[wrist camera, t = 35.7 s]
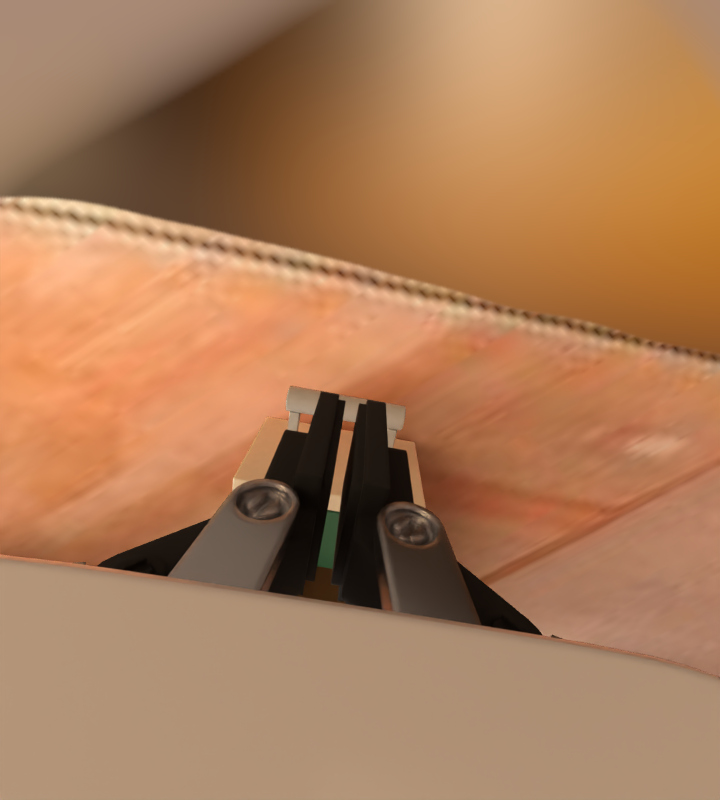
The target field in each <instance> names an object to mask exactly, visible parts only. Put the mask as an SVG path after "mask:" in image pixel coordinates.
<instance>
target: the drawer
mask: <svg viewBox="0 0 720 800" xmlns="http://www.w3.org/2000/svg"><path fill="white" fill-rule="evenodd" d="M322 392H323V391H322ZM320 393H321V391H317V390H312V389H306V388H301V387H295V386H290V388H289V390H288V394H287V399H286V410H287V411H290V413H289V420H285V419H279V418H274V417H266V419H265V421H264V423H263V425H262V427H261V428H260V430H259V432H258V434H257V436H256V438H255V439H254V441H253V443H252V445H251V447H250V449H249V450H248V452H247V454H246V456H245V458H244V460H243V461H242V463H241V465H240V467H239V469H238V471H237V472H236V474H235V476H234V478H233V490H234V489H235V488H236V487H237V486H239V485H241V484H243V483H245V482H247V481H251V480H255V479H264V477H265V475H266V473H267V470H268V468H269V466H270V463H271V461H272V459H273V456H274V454H275V452H276V449H277V447H278V445H279V442H280V440H281V438H282V435H283V433H284V431H285V430H286V429H287V430H292V431H298V432H304V433H308V431H309V428H310V425H311V424H308V423H302V422H299V421H300V413H304V414H309V415H314V412H315V409H316V406H317V403H318V399H319V396H320ZM328 393H329V392H328ZM333 394H334V393H333ZM339 400H345V401H346V403H345V409H344V416H343V420H344V421H349V422H355V421H356V416H357V411H358V406H359V403H361V404H366V402H367V400H368V399H362V398H357V397H351V396H346V395H340V394H339ZM373 401H374V400H373ZM378 402H379V401H378ZM384 403H385V402H384ZM405 414H406V408H405V406H402V405H396V404H390V403H386V415H387V434H388V447H390V448H396V449H402V450H406V451H407V454H408V462H409V469H410V477H411V484H412V492H413V499H414V504H417V505H419V506H422V507H424V508H426V505H425V499H424V494H423V488H422V482H421V476H420V470H419V465H418V459H417V453H416V447H415V442H411V441H406V440H400V439H395V437H396V433H397V430H402V428H403V425H404V421H405ZM352 436H353V431H348V430H342V429H341V434H340V440H339V446H338V453H337V459H336V465H335V471H334V477H333V483H332V488H331V494H330V499H329V505H328V510H332V511H338V512H340V504H341V496H342V488H343V482H344V477H345V471H346V466H347V461H348V456H349V451H350V446H351V441H352ZM331 577H332V569H331V568H325V567H318V566H317V570H316V576H315V581H314V582H313V581H307V580H305V586H304V591H303V595H297V597H304V598H310V599H317V600H323V601H330V602H336V603H343V604H346V603H345V602H343V601H337V600H338V590H339V586H338V585H332V584H331Z"/></svg>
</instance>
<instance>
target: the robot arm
mask: <svg viewBox="0 0 720 800" xmlns="http://www.w3.org/2000/svg"><path fill="white" fill-rule="evenodd" d="M345 403H346V401H345V400H339V394H333V393H328V392H322V391H321V393H320V396H319V399H318V403H317V406H316V409H315V412H314V415H313V418H312V422H311V425H310V428H309V431H308V433H304V432H298V431H292V430H287V429H286V430H285V431H284V433H283V435H282V438H281V440H280V442H279V445H278V447H277V449H276V452H275V454H274V456H273V459H272V461H271V463H270V466H269V468H268V470H267V473H266V475H265V477H264V479H255V480H251V481H247V482H245V483H243V484H241V485H239V486H237V487H236V488H235V489H234V490H233V491H232V492H231V493H230V495H229V496H228V497H227V498H226V500H225V501H224V502H223V504H222V505H221V506H220V508H219V509H218V510H217V512H216V513H215V514H214V516H213V517H212V518H211V519H208V520H205V521H203V522H200V523H198V524H195V525H192V526H190V527H187V528H185V529H182V530H179V531H177V532H174V533H172V534H169V535H167V536H164V537H161V538H159V539H156V540H154V541H151V542H148V543H146V544H143V545H141V546H138V547H135V548H133V549H130V550H128V551H125V552H122V553H120V554H117V555H115V556H113V557H111V558H109V559H107V560H105V561H103V562H102V563H100V564H99V565H98V566H90V565H86V562H77V563H69V562H61V561H53V560H44V559H35V558H26V557H17V556H8V555H0V800H720V677H717V676H715V675H712V674H709V673H706V672H704V671H701V670H698V669H696V668H693V667H690V666H687V665H683V664H680V663H676V662H672V661H669V660H665V659H662V658H658V657H654V656H649V655H644V654H639V653H634V652H629V651H624V650H619V649H614V648H609V647H604V646H599V645H594V644H589V643H583V642H577V641H571V640H565V639H562V638H559V637H557V636H554V635H552V636H551V637H547V636H543V635H542V634H541V632H540V631H539V630H538V629H537V628H536V627H535V626H534V625H533V624H532V623H531V622H530V621H529V620H528V619H527V618H526V617H525V616H523V615H522V614H521V613H520V612H519V611H517V610H516V609H515V608H514V607H512V606H511V605H510V604H509V603H508V602H506V601H505V600H504V599H503V598H501V597H500V596H499V595H498V594H497V593H495V592H494V591H493V590H492V589H490V588H489V587H488V586H487V585H486V584H484V583H483V582H482V581H481V580H479V579H478V578H477V577H476V576H475V575H473V574H472V573H471V572H470V571H468V570H467V569H466V568H465V567H464V566H462V565H461V564H460V563H459V562H457V560H456V558H455V555H454V552H453V550H452V547H451V545H450V542H449V539H448V537H447V534H446V532H445V529H444V527H443V525H442V523H441V522H440V520H439V519H438V518H437V517H436V516H435V515H434V514H433V513H432V512H431V511H429V510H427V509H426V508H424V507H422V506H419V505H417V504H414V499H413V492H412V484H411V477H410V469H409V462H408V454H407V451H406V450H402V449H396V448H390V447H388V434H387V415H386V403H384V402H378V401H373V400H367V402H366V404H361V403H359V406H358V411H357V416H356V421H355V426H354V431H353V436H352V441H351V446H350V451H349V456H348V461H347V466H346V471H345V477H344V482H343V488H342V496H341V504H340V512H339V520H338V528H337V536H336V545H335V553H334V561H333V569H332V577H331V584H332V585H338V586H339V590H338V600H337V601H343V602H345V603H346V604H343V603H336V602H330V601H323V600H317V599H310V598H304V597H297V595H303V591H304V586H305V580H307V581H313V582H314V581H315V576H316V570H317V565H318V559H319V554H320V548H321V543H322V537H323V532H324V527H325V521H326V516H327V510H328V505H329V499H330V494H331V488H332V483H333V477H334V471H335V465H336V459H337V453H338V446H339V440H340V434H341V428H342V422H343V416H344V409H345Z"/></svg>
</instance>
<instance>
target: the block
mask: <svg viewBox="0 0 720 800" xmlns="http://www.w3.org/2000/svg"><path fill="white" fill-rule="evenodd" d="M338 520H339V512H338V511H332V510H327V516H326V521H325V527H324V532H323V537H322V543H321V548H320V554H319V559H318V565H317V566H318V567H325V568H331V569H333V561H334V553H335V545H336V536H337V528H338Z"/></svg>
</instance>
